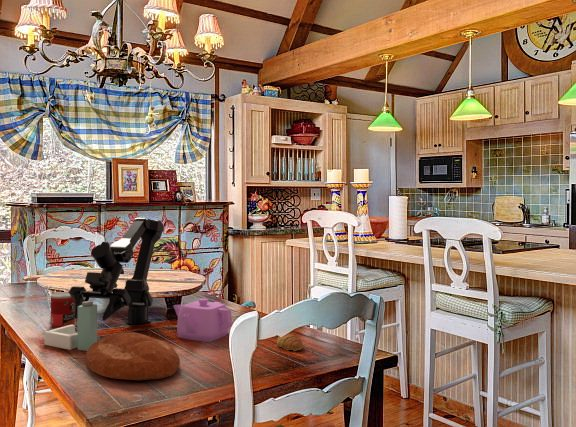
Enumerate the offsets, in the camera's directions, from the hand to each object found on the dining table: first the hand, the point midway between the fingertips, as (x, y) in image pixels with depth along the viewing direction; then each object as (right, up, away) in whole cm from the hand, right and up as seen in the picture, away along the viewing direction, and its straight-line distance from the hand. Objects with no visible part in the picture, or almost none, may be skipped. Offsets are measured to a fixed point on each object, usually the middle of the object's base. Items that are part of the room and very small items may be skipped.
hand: (89, 318), depth 161 cm
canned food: (-19, -8, +26) cm, 33 cm away
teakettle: (+31, -9, +15) cm, 36 cm away
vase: (-25, -7, +38) cm, 46 cm away
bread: (+18, -10, -17) cm, 27 cm away
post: (0, -9, -1) cm, 9 cm away
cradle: (-7, -8, +5) cm, 12 cm away
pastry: (+61, -10, +4) cm, 62 cm away
